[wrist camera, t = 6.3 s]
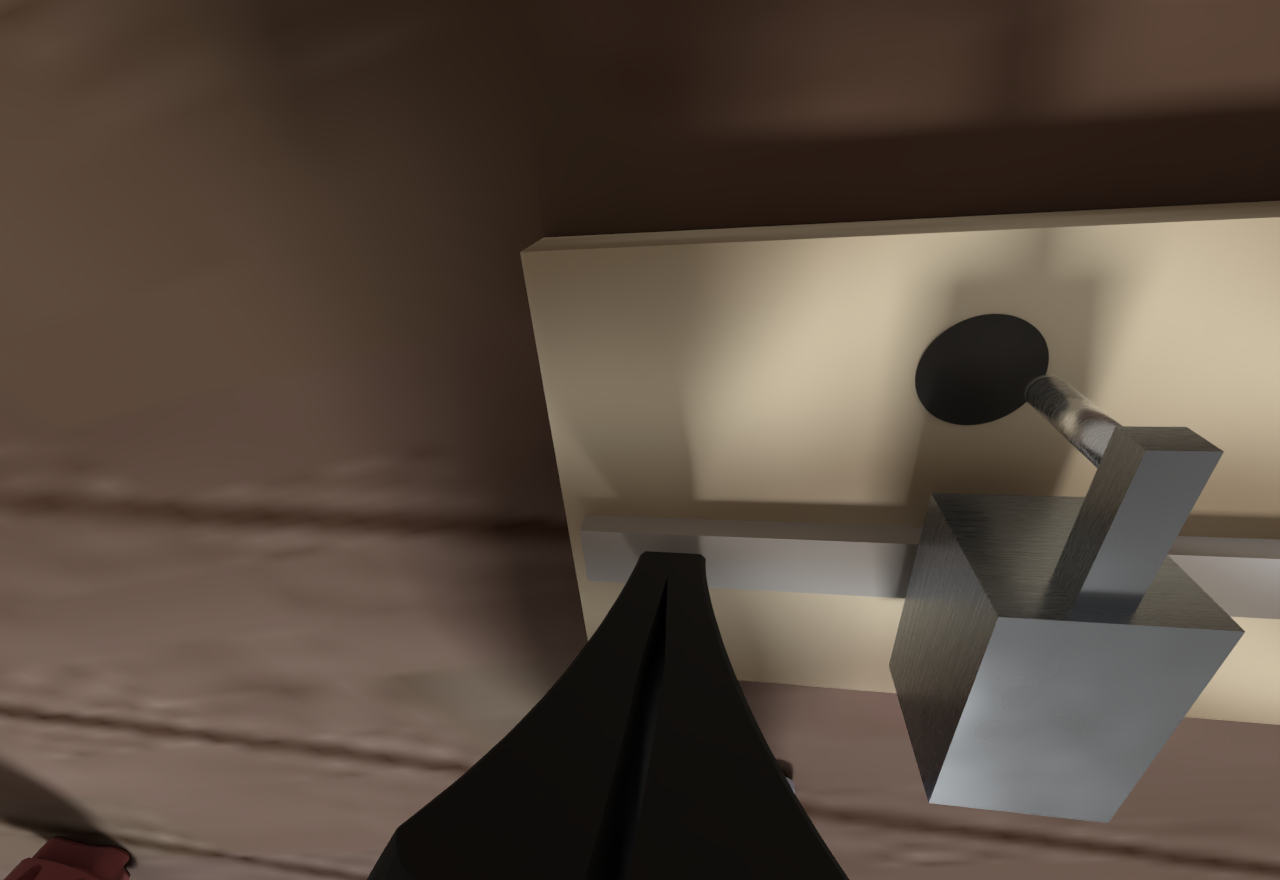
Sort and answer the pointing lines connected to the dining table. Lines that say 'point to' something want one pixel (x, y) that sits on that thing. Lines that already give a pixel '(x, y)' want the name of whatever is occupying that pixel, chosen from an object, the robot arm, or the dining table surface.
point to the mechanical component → (73, 862)
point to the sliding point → (1059, 625)
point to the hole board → (902, 409)
